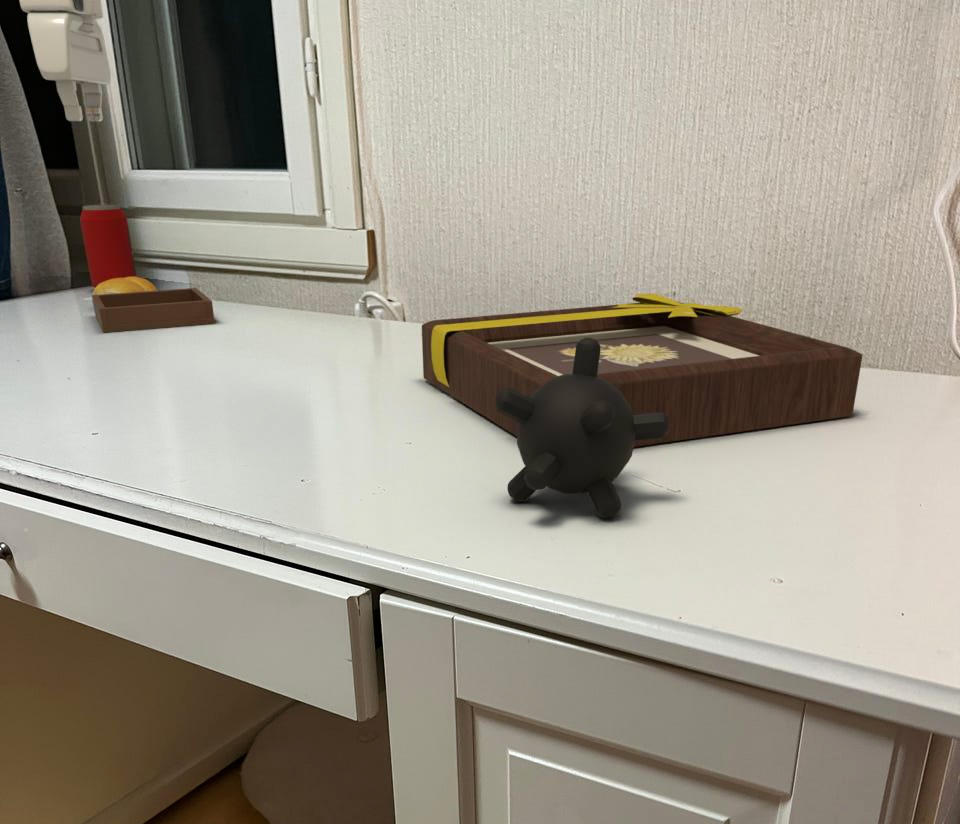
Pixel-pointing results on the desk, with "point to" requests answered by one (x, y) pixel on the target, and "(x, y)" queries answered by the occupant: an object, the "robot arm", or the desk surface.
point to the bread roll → (124, 286)
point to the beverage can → (107, 243)
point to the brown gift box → (650, 364)
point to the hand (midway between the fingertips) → (85, 121)
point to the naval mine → (576, 433)
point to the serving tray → (152, 309)
